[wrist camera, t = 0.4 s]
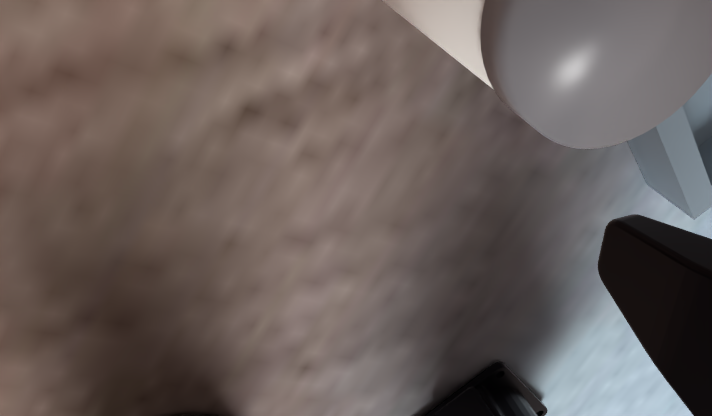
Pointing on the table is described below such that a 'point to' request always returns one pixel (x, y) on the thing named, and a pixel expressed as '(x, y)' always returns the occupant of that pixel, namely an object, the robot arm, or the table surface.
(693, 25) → the shaker
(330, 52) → the table surface
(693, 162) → the tray
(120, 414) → the table surface
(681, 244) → the robot arm
